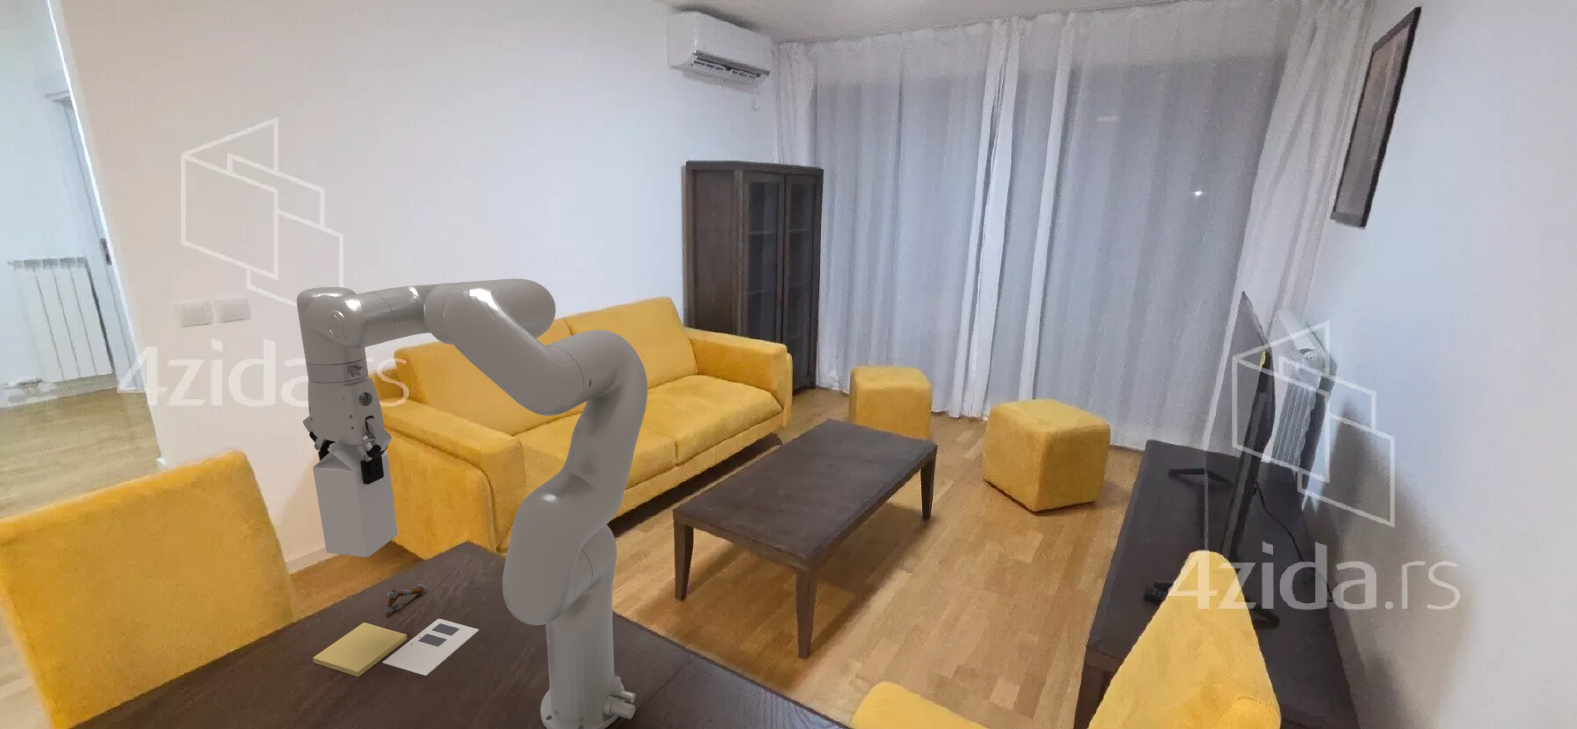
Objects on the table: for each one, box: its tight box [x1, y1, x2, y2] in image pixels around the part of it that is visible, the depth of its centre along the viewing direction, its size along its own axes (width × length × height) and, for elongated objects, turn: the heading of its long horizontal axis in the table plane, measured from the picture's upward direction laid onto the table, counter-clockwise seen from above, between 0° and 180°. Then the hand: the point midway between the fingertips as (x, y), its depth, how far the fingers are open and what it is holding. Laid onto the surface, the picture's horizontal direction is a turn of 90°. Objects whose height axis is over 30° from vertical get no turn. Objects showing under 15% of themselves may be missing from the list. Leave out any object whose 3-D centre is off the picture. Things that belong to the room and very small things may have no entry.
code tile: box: [382, 618, 480, 677], centre depth 113 cm, size 9×12×1 cm
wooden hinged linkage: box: [384, 583, 428, 616], centre depth 123 cm, size 2×8×4 cm, turn 161°
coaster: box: [312, 622, 408, 678], centre depth 111 cm, size 10×10×1 cm
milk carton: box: [312, 436, 399, 558], centre depth 104 cm, size 7×7×19 cm
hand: (353, 475), depth 103 cm, fingers closed on milk carton, 8 cm apart
